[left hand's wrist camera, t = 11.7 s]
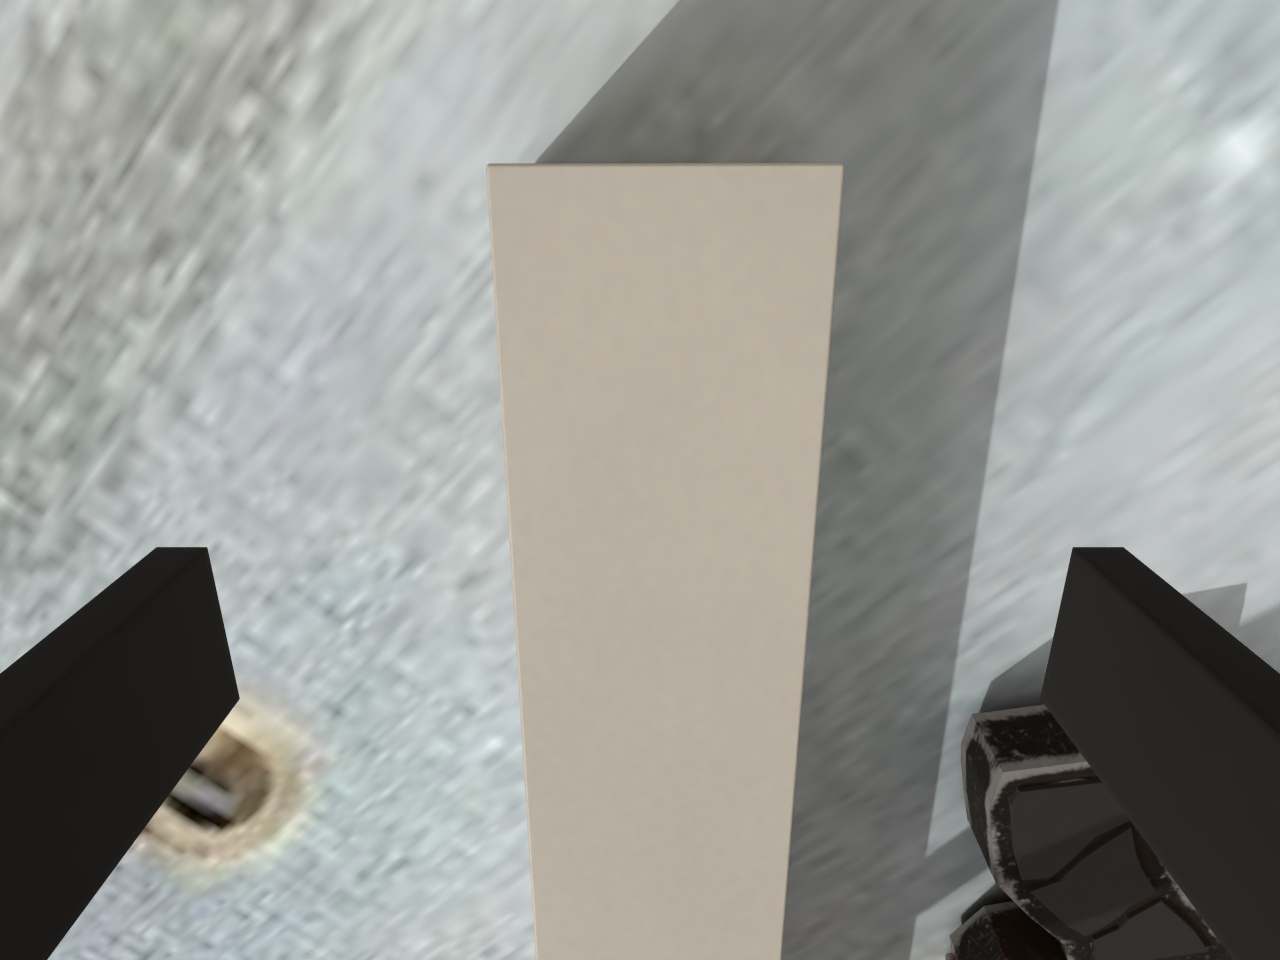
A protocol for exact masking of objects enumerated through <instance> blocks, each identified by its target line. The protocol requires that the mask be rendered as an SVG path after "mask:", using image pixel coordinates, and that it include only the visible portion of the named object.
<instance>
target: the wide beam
mask: <svg viewBox="0 0 1280 960" xmlns="http://www.w3.org/2000/svg"><path fill="white" fill-rule="evenodd" d="M844 168H845V167H844V164H842V163H523V164H488V165H487V167H486V172H487V188H488V204H489V220H490V236H491V252H492V268H493V283H494V299H495V315H496V331H497V347H498V363H499V379H500V395H501V410H502V426H503V442H504V458H505V474H506V490H507V506H508V522H509V538H510V553H511V569H512V585H513V601H514V617H515V633H516V649H517V665H518V681H519V696H520V712H521V728H522V744H523V760H524V776H525V792H526V808H527V824H528V839H529V855H530V871H531V887H532V903H533V919H534V935H535V951H536V960H781V957H782V945H783V932H784V920H785V907H786V895H787V882H788V870H789V857H790V845H791V832H792V820H793V807H794V794H795V782H796V769H797V757H798V744H799V732H800V719H801V707H802V694H803V682H804V669H805V657H806V644H807V632H808V619H809V606H810V594H811V581H812V569H813V556H814V544H815V531H816V519H817V506H818V494H819V481H820V469H821V456H822V443H823V431H824V418H825V406H826V393H827V381H828V368H829V356H830V343H831V331H832V318H833V306H834V293H835V281H836V268H837V255H838V243H839V230H840V218H841V205H842V193H843V180H844Z"/></svg>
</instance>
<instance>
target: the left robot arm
mask: <svg viewBox="0 0 1280 960" xmlns="http://www.w3.org/2000/svg"><path fill="white" fill-rule="evenodd" d="M239 699H240V698H239V693H238V689H237V684H236V679H235V675H234V670H233V665H232V661H231V656H230V651H229V647H228V642H227V637H226V633H225V628H224V623H223V619H222V614H221V609H220V605H219V600H218V595H217V591H216V586H215V581H214V577H213V572H212V568H211V563H210V558H209V554H208V549H207V547H156V548H155V549H154V550H153V551H152V552H150V553H149V554H148V555H147V556H145V557H144V558H143V559H142V560H140V561H139V562H138V563H137V564H135V565H134V566H133V567H132V568H131V569H129V570H128V571H127V572H126V573H124V574H123V575H122V576H121V577H119V578H118V579H117V580H116V581H114V582H113V583H112V584H111V585H109V586H108V587H107V588H106V589H105V590H103V591H102V592H101V593H100V594H98V595H97V596H96V597H95V598H93V599H92V600H91V601H90V602H88V603H87V604H86V605H85V606H84V607H82V608H81V609H80V610H79V611H77V612H76V613H75V614H74V615H72V616H71V617H70V618H69V619H67V620H66V621H65V622H64V623H63V624H61V625H60V626H59V627H58V628H56V629H55V630H54V631H53V632H51V633H50V634H49V635H48V636H46V637H45V638H44V639H43V640H41V641H40V642H39V643H38V644H37V645H35V646H34V647H33V648H32V649H30V650H29V651H28V652H27V653H25V654H24V655H23V656H22V657H20V658H19V659H18V660H17V661H16V662H14V663H13V664H12V665H11V666H9V667H8V668H7V669H6V670H4V671H3V672H2V673H1V674H0V960H47V959H48V958H49V956H50V955H51V954H52V952H53V951H54V950H55V948H56V947H57V946H58V944H59V943H60V941H61V940H62V939H63V937H64V936H65V935H66V933H67V932H68V931H69V929H70V928H71V927H72V925H73V924H74V923H75V921H76V920H77V918H78V917H79V916H80V914H81V913H82V912H83V910H84V909H85V908H86V906H87V905H88V904H89V902H90V901H91V899H92V898H93V897H94V895H95V894H96V893H97V891H98V890H99V889H100V887H101V886H102V885H103V883H104V882H105V881H106V879H107V878H108V876H109V875H110V874H111V872H112V871H113V870H114V868H115V867H116V866H117V864H118V863H119V862H120V860H121V859H122V857H123V856H124V855H125V853H126V852H127V851H128V849H129V848H130V847H131V845H132V844H133V843H134V841H135V840H136V839H137V837H138V836H139V834H140V833H141V832H142V830H143V829H144V828H145V826H146V825H147V824H148V822H149V821H150V820H151V818H152V817H153V816H154V814H155V813H156V811H157V810H158V809H159V807H160V806H161V805H162V803H163V802H164V801H165V799H166V798H167V797H168V795H169V794H170V792H171V791H172V790H173V788H174V787H175V786H176V784H177V783H178V782H179V780H180V779H181V778H182V776H183V775H184V774H185V772H186V771H187V769H188V768H189V767H190V765H191V764H192V763H193V761H194V760H195V759H196V757H197V756H198V755H199V753H200V752H201V750H202V749H203V748H204V746H205V745H206V744H207V742H208V741H209V740H210V738H211V737H212V736H213V734H214V733H215V732H216V730H217V729H218V727H219V726H220V725H221V723H222V722H223V721H224V719H225V718H226V717H227V715H228V714H229V713H230V711H231V710H232V708H233V707H234V706H235V704H236V703H237V702H238V700H239ZM1040 699H1041V700H1042V702H1043V703H1044V704H1045V706H1046V707H1047V708H1048V710H1049V711H1050V713H1051V714H1052V715H1053V717H1054V718H1055V719H1056V721H1057V722H1058V723H1059V725H1060V726H1061V727H1062V729H1063V730H1064V732H1065V733H1066V734H1067V736H1068V737H1069V738H1070V740H1071V741H1072V742H1073V744H1074V745H1075V746H1076V748H1077V749H1078V750H1079V752H1080V753H1081V755H1082V756H1083V757H1084V759H1085V760H1086V761H1087V763H1088V764H1089V765H1090V767H1091V768H1092V769H1093V771H1094V772H1095V774H1096V775H1097V776H1098V778H1099V779H1100V780H1101V782H1102V783H1103V784H1104V786H1105V787H1106V788H1107V790H1108V791H1109V792H1110V794H1111V795H1112V797H1113V798H1114V799H1115V801H1116V802H1117V803H1118V805H1119V806H1120V807H1121V809H1122V810H1123V811H1124V813H1125V814H1126V816H1127V817H1128V818H1129V820H1130V821H1131V822H1132V824H1133V825H1134V826H1135V828H1136V829H1137V830H1138V832H1139V833H1140V834H1141V836H1142V837H1143V839H1144V840H1145V841H1146V843H1147V844H1148V845H1149V847H1150V848H1151V849H1152V851H1153V852H1154V853H1155V855H1156V856H1157V857H1158V859H1159V860H1160V862H1161V863H1162V864H1163V866H1164V867H1165V868H1166V870H1167V871H1168V872H1169V874H1170V875H1171V876H1172V878H1173V879H1174V881H1175V882H1176V883H1177V885H1178V886H1179V887H1180V889H1181V890H1182V891H1183V893H1184V894H1185V895H1186V897H1187V898H1188V899H1189V901H1190V902H1191V904H1192V905H1193V906H1194V908H1195V909H1196V910H1197V912H1198V913H1199V914H1200V916H1201V917H1202V918H1203V920H1204V921H1205V923H1206V924H1207V925H1208V927H1209V928H1210V929H1211V931H1212V932H1213V933H1214V935H1215V936H1216V937H1217V939H1218V940H1219V941H1220V943H1221V944H1222V946H1223V947H1224V948H1225V950H1226V951H1227V952H1228V954H1229V955H1230V956H1231V958H1232V959H1233V960H1280V674H1279V673H1278V672H1277V671H1276V670H1274V669H1273V668H1272V667H1271V666H1269V665H1268V664H1267V663H1266V662H1264V661H1263V660H1262V659H1261V658H1260V657H1258V656H1257V655H1256V654H1255V653H1253V652H1252V651H1251V650H1250V649H1248V648H1247V647H1246V646H1245V645H1243V644H1242V643H1241V642H1240V641H1239V640H1237V639H1236V638H1235V637H1234V636H1232V635H1231V634H1230V633H1229V632H1227V631H1226V630H1225V629H1224V628H1222V627H1221V626H1220V625H1219V624H1217V623H1216V622H1215V621H1214V620H1213V619H1211V618H1210V617H1209V616H1208V615H1206V614H1205V613H1204V612H1203V611H1201V610H1200V609H1199V608H1198V607H1196V606H1195V605H1194V604H1193V603H1192V602H1190V601H1189V600H1188V599H1187V598H1185V597H1184V596H1183V595H1182V594H1180V593H1179V592H1178V591H1177V590H1175V589H1174V588H1173V587H1172V586H1171V585H1169V584H1168V583H1167V582H1166V581H1164V580H1163V579H1162V578H1161V577H1159V576H1158V575H1157V574H1156V573H1154V572H1153V571H1152V570H1151V569H1149V568H1148V567H1147V566H1146V565H1145V564H1143V563H1142V562H1141V561H1140V560H1138V559H1137V558H1136V557H1135V556H1133V555H1132V554H1131V553H1130V552H1128V551H1127V550H1126V549H1125V548H1124V547H1073V549H1072V554H1071V558H1070V563H1069V568H1068V572H1067V577H1066V581H1065V586H1064V591H1063V595H1062V600H1061V605H1060V609H1059V614H1058V619H1057V623H1056V628H1055V633H1054V637H1053V642H1052V647H1051V651H1050V656H1049V661H1048V665H1047V670H1046V675H1045V679H1044V684H1043V689H1042V693H1041V698H1040Z"/></svg>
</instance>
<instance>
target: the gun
mask: <svg viewBox="0 0 1280 960" xmlns="http://www.w3.org/2000/svg"><path fill="white" fill-rule="evenodd" d="M961 762H962V776H963V789H964V796H965V803H966V811H967V818H968V821H969V823H970V825H971V828H972V830H973V832H974V835H975V837H976V839H977V841H978V844H979V846H980V848H981V850H982V853H983V855H984V857H985V859H986V862H987V864H988V866H989V868H990V871H991V873H992V875H993V877H994V880H995V882H996V884H997V885H998V886H999V887H1000V888H1001V889H1002V890H1003V891H1004V892H1005V893H1006V894H1007V895H1008V896H1009V897H1010V898H1011V899H1012V900H1013V901H1012V902H1005V903H999V904H993V905H986V906H983V907H982V908H981V909H980V910H979V911H977V912H976V913H975V914H974V915H973V916H972V917H971V918H969V919H968V920H967V921H966V922H965V923H964V924H963V925H961V926H960V927H959V928H958V929H957V930H956V931H955V932H953V933H952V934H951V935H950V940H951V946H952V951H953V953H949V954H946V956H945V958H946V960H1233V959H1232V958H1231V956H1230V955H1229V954H1228V952H1227V951H1226V950H1225V948H1224V947H1223V946H1222V944H1221V943H1220V941H1219V940H1218V939H1217V937H1216V936H1215V935H1214V933H1213V932H1212V931H1211V929H1210V928H1209V927H1208V925H1207V924H1206V923H1205V921H1204V920H1203V918H1202V917H1201V916H1200V914H1199V913H1198V912H1197V910H1196V909H1195V908H1194V906H1193V905H1192V904H1191V902H1190V901H1189V899H1188V898H1187V897H1186V895H1185V894H1184V893H1183V891H1182V890H1181V889H1180V887H1179V886H1178V885H1177V883H1176V882H1175V881H1174V879H1173V878H1172V876H1171V875H1170V874H1169V872H1168V871H1167V870H1166V868H1165V867H1164V866H1163V864H1162V863H1161V862H1160V860H1159V859H1158V857H1157V856H1156V855H1155V853H1154V852H1153V851H1152V849H1151V848H1150V847H1149V845H1148V844H1147V843H1146V841H1145V840H1144V839H1143V837H1142V836H1141V834H1140V833H1139V832H1138V830H1137V829H1136V828H1135V826H1134V825H1133V824H1132V822H1131V821H1130V820H1129V818H1128V817H1127V816H1126V814H1125V813H1124V811H1123V810H1122V809H1121V807H1120V806H1119V805H1118V803H1117V802H1116V801H1115V799H1114V798H1113V797H1112V795H1111V794H1110V792H1109V791H1108V790H1107V788H1106V787H1105V786H1104V784H1103V783H1102V782H1101V780H1100V779H1099V778H1098V776H1097V775H1096V774H1095V772H1094V771H1093V769H1092V768H1091V767H1090V765H1089V764H1088V763H1087V761H1086V760H1085V759H1084V757H1083V756H1082V755H1081V753H1080V752H1079V750H1078V749H1077V748H1076V746H1075V745H1074V744H1073V742H1072V741H1071V740H1070V738H1069V737H1068V736H1067V734H1066V733H1065V732H1064V730H1063V729H1062V727H1061V726H1060V725H1059V723H1058V722H1057V721H1056V719H1055V718H1054V717H1053V715H1052V714H1051V713H1050V711H1049V710H1048V708H1047V707H1046V706H1045V704H1043V705H1036V706H1028V707H1021V708H1013V709H1006V710H999V711H991V712H984V713H977V714H972V716H971V718H970V721H969V724H968V727H967V729H966V732H965V735H964V738H963V740H962V743H961Z"/></svg>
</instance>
